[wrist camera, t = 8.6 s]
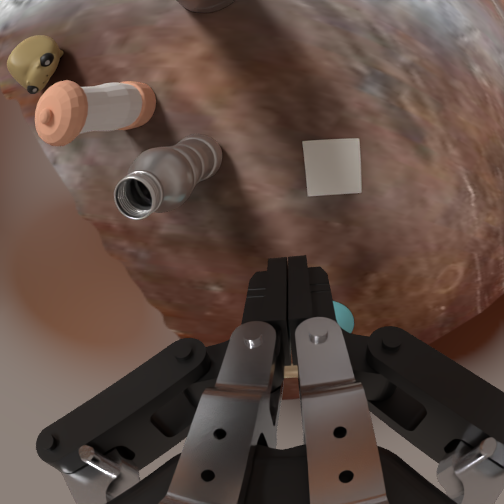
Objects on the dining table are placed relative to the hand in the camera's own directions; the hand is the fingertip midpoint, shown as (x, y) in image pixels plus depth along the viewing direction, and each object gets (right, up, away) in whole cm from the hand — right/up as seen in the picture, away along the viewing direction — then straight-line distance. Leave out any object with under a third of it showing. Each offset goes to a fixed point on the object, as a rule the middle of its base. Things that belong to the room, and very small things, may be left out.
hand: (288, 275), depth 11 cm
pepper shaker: (-19, +23, +22) cm, 37 cm away
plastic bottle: (-9, +15, +26) cm, 31 cm away
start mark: (+10, +13, +24) cm, 29 cm away
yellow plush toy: (-37, +35, +18) cm, 54 cm away
